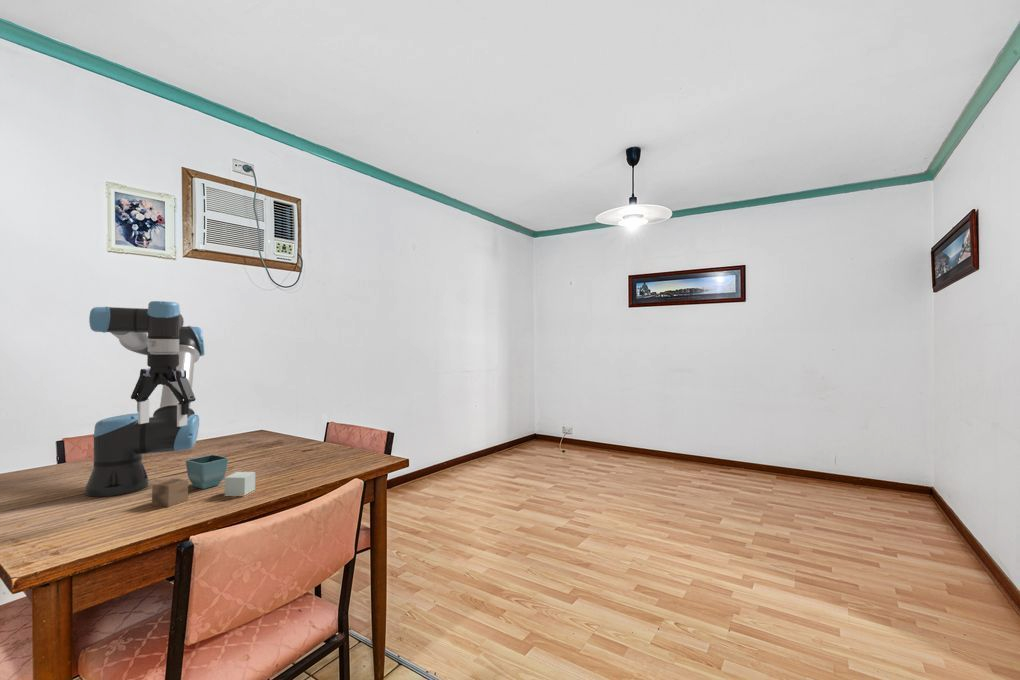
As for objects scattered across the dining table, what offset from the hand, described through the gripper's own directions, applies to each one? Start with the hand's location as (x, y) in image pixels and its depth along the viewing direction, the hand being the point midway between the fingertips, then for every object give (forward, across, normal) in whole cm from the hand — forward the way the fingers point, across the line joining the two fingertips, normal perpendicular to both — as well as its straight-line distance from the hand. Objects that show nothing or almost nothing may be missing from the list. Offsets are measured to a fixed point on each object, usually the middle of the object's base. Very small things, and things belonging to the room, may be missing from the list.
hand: (162, 424), depth 135 cm
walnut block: (+22, +5, -2) cm, 23 cm away
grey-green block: (+23, +18, +10) cm, 31 cm away
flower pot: (+23, +2, +14) cm, 27 cm away
